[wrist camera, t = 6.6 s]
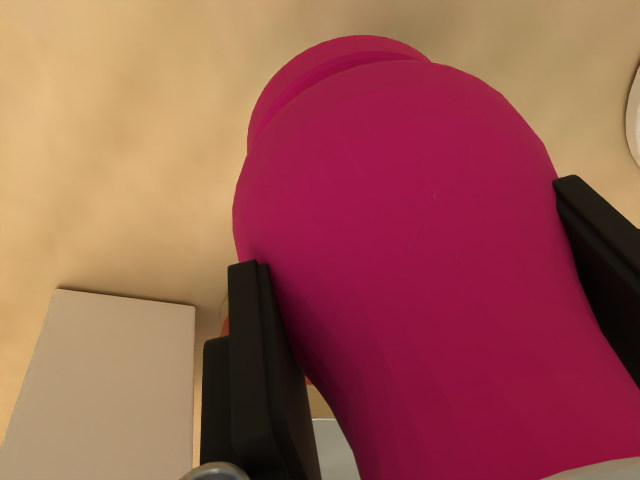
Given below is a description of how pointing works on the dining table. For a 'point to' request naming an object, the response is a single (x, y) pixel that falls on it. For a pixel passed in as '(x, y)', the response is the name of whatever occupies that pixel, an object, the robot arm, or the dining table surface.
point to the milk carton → (105, 393)
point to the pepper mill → (429, 272)
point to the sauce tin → (320, 429)
